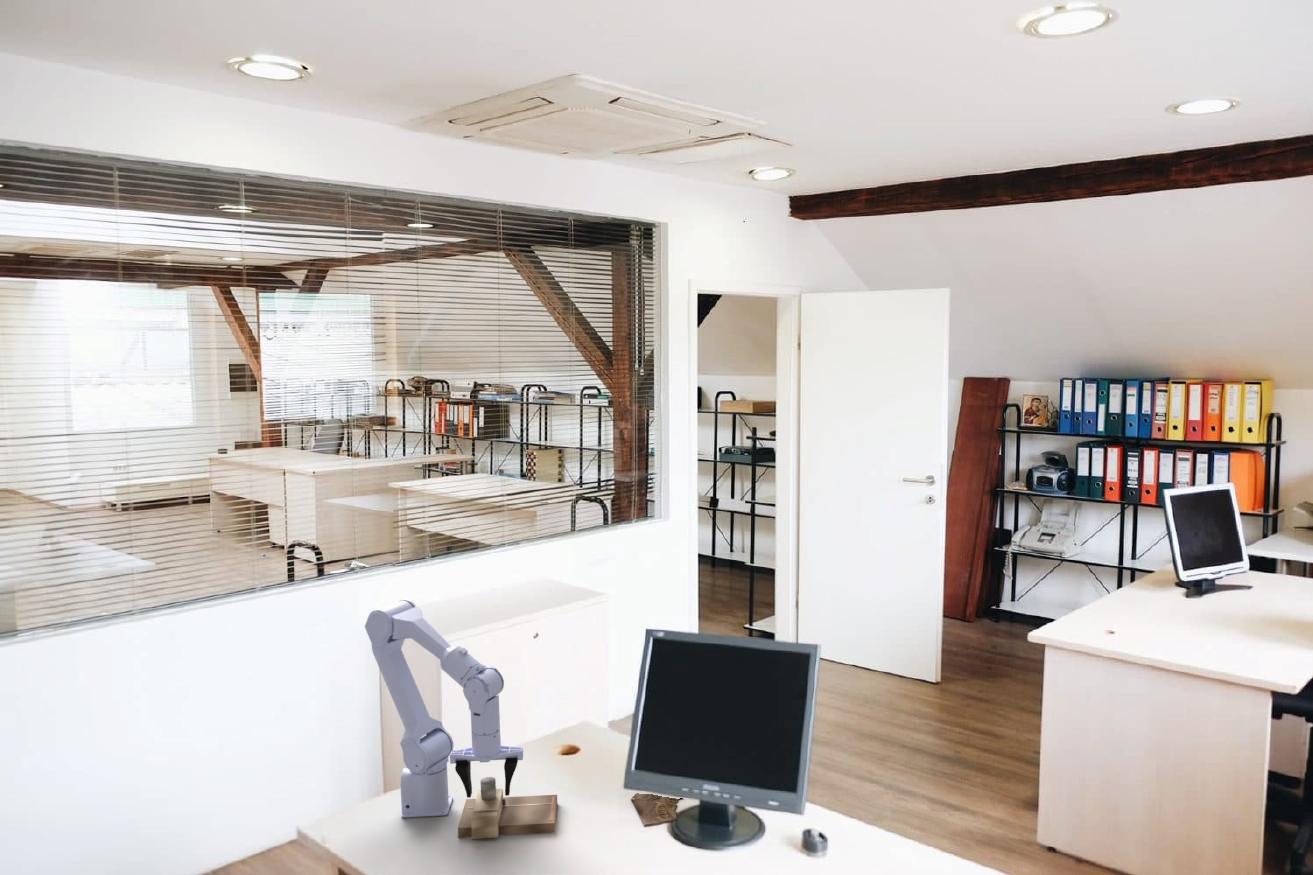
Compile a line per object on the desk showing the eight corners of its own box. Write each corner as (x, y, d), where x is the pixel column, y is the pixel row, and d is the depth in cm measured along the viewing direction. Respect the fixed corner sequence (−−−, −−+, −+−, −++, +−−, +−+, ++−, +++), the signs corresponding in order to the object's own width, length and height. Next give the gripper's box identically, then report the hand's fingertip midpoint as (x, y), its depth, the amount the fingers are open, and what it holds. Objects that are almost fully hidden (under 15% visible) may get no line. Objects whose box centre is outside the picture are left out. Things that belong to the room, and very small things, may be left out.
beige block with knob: (471, 838, 186) (470, 799, 185) (479, 810, 197) (477, 773, 196) (500, 837, 186) (499, 797, 185) (506, 808, 197) (505, 771, 197)
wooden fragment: (673, 830, 189) (673, 825, 189) (619, 826, 191) (619, 821, 191) (693, 773, 214) (693, 768, 214) (646, 770, 216) (645, 765, 216)
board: (458, 837, 188) (457, 827, 187) (466, 808, 200) (466, 798, 199) (554, 832, 189) (554, 822, 188) (557, 803, 201) (557, 794, 200)
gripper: (446, 739, 188) (449, 805, 189) (520, 736, 188) (522, 801, 190) (451, 725, 195) (454, 789, 196) (523, 722, 195) (525, 785, 197)
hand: (488, 794), depth 193 cm, fingers open, 7 cm apart
